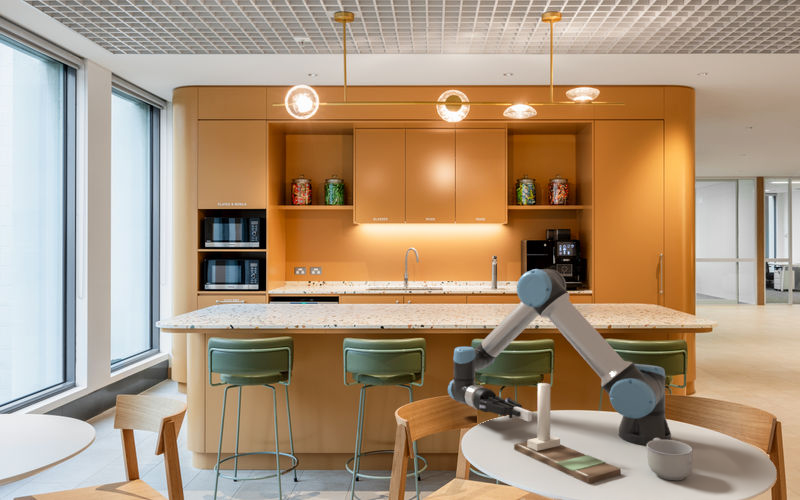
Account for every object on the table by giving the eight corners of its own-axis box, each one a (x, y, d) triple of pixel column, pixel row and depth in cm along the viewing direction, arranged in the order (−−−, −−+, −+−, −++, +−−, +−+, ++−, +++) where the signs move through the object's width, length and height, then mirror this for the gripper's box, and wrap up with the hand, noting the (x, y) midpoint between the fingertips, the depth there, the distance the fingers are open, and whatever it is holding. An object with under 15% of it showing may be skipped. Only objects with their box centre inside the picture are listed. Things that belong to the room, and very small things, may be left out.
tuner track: (514, 449, 165) (514, 443, 165) (544, 442, 171) (544, 437, 171) (588, 483, 141) (588, 477, 141) (620, 474, 147) (620, 468, 147)
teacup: (698, 486, 140) (698, 454, 140) (651, 482, 142) (651, 451, 142) (681, 465, 154) (681, 436, 154) (639, 462, 156) (639, 433, 156)
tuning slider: (527, 446, 162) (527, 384, 162) (550, 441, 167) (550, 381, 167) (537, 450, 159) (537, 387, 159) (560, 445, 163) (560, 384, 163)
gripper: (496, 406, 192) (545, 425, 171) (465, 412, 185) (513, 432, 165) (496, 385, 192) (545, 401, 171) (465, 389, 185) (513, 407, 165)
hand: (529, 416), depth 168 cm, fingers closed
